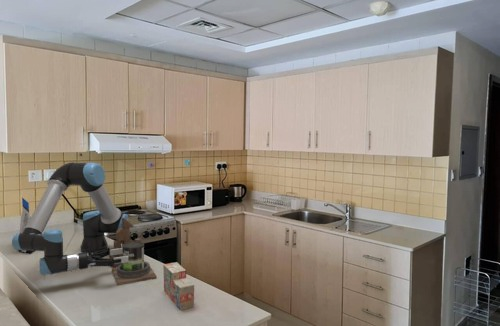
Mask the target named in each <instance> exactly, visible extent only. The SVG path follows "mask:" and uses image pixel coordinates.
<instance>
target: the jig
mask: <svg viewBox="0 0 500 326" xmlns="http://www.w3.org/2000/svg"><path fill="white" fill-rule="evenodd" d="M111 273H112V275H113V278H114V279H115V282H116V283H115V284H116V285H117V286H120V285H126V284H132V283H133V284H134V283H137V282H143V281H148V280H155V279H157V275H156V273H155V271H154V270H153V269H152V267H151V265H150V263H149V262H148V261H144V268H143V269H141V270H136V271H124V270H123V263H120V265H119V266H118V267H117V268H113V267H112V268H111Z"/></svg>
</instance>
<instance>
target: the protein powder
mask: <svg viewBox="0 0 500 326" xmlns="http://www.w3.org/2000/svg"><path fill="white" fill-rule="evenodd" d="M21 200H22V205H21V206H22V211H21V215H20V225H19V226H20V227H19V232H18V233H23V231H24V229H25V227H26V225H27V224H28V222H29V220H30V218H31V215H30V204H29V202H28V200H26V199H25V198H24V197H22V198H21ZM18 252H19V253H22V254H25V255H26V254H27V255H32V254H33V253H35V252H36V251H33V250H25V251H23V250H18Z"/></svg>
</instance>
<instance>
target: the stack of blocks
mask: <svg viewBox="0 0 500 326" xmlns="http://www.w3.org/2000/svg"><path fill="white" fill-rule="evenodd" d="M162 266H163V291H164V293H165V295H167V296H168V298H169V299H170V300H171V301H172V302H173V304H174V305H175V306H176V307H177V308H178V310H179V311H182V310H185V309H186V310H187V309H190V308H194V307H195V284H194V283H193V282H192V281H191V280H190V279H189V278H188V277H187V270H186V269H185V268H184V267H183V266H182V265H180V264H179V262H177V261H176V262H170V263H164V264H163V265H162Z"/></svg>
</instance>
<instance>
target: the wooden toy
mask: <svg viewBox="0 0 500 326" xmlns="http://www.w3.org/2000/svg"><path fill="white" fill-rule="evenodd" d="M134 227H135V225H133V223H131V222H128V221H127V220H126V219H125V218H123V217H122V228H119V229H118V230H117V231H116V233H115V240H113V249H119V248H122V245H123V244H125V243H129V242H131V240H130V239H131V236H130V235H131V231H130V229H131V228H134ZM141 239H142V238H139V237H137V238H134V242H142V240H141ZM116 257H123V254H118V255H108V258H109V259H114V258H116ZM120 264H121V263H118V264H114V266H110V267H111V268H112V269H113V268H117V267H118V266H119V265H120Z"/></svg>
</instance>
